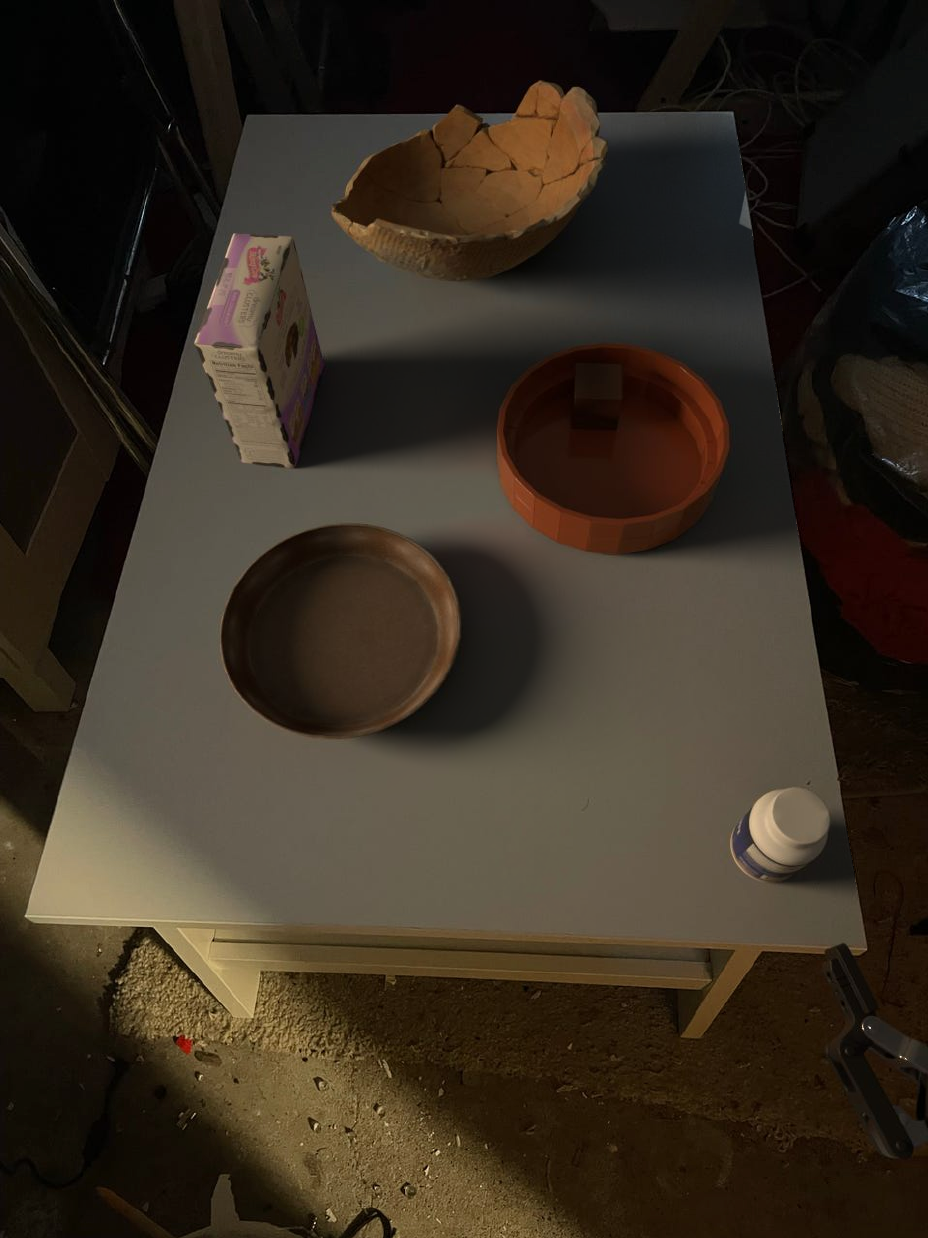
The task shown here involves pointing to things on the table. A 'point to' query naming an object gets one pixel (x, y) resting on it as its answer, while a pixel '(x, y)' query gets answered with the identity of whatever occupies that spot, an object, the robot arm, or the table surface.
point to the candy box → (262, 349)
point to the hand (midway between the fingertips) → (899, 922)
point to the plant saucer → (340, 631)
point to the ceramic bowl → (477, 187)
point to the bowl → (612, 452)
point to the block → (596, 396)
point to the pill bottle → (780, 834)
